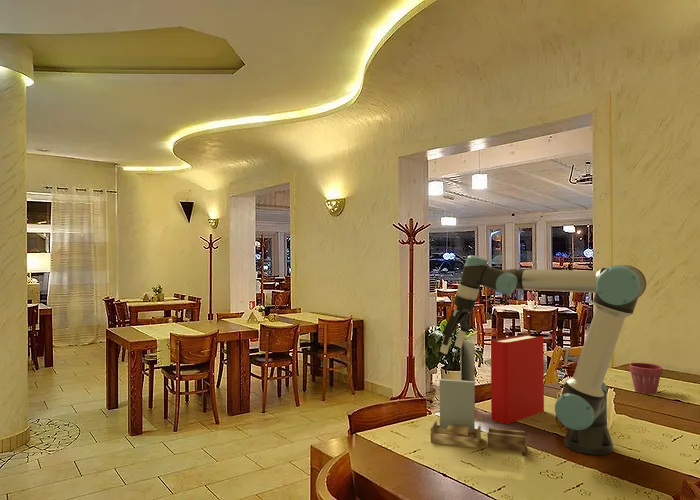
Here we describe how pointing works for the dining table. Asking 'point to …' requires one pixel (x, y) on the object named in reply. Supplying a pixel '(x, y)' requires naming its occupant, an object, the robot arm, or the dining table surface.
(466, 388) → the grey panel
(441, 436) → the tray
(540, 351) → the book
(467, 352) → the tall grey block
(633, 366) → the plant pot
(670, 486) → the dining table surface
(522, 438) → the stand
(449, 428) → the offcut
